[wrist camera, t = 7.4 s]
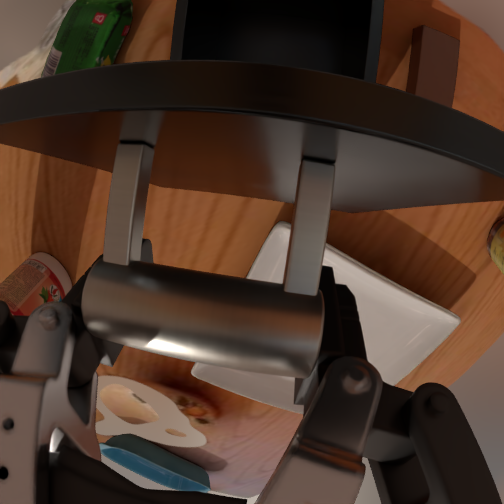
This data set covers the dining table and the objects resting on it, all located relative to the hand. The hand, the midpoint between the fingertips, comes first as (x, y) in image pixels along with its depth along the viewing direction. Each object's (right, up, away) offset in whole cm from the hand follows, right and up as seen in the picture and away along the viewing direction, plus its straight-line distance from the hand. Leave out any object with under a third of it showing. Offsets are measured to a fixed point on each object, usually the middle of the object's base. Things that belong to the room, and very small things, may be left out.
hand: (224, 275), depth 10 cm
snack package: (-15, +21, +14) cm, 30 cm away
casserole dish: (-27, -60, +63) cm, 91 cm away
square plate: (+10, -11, +29) cm, 33 cm away
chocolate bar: (+17, +18, +11) cm, 27 cm away
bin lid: (+1, +4, +2) cm, 5 cm away
